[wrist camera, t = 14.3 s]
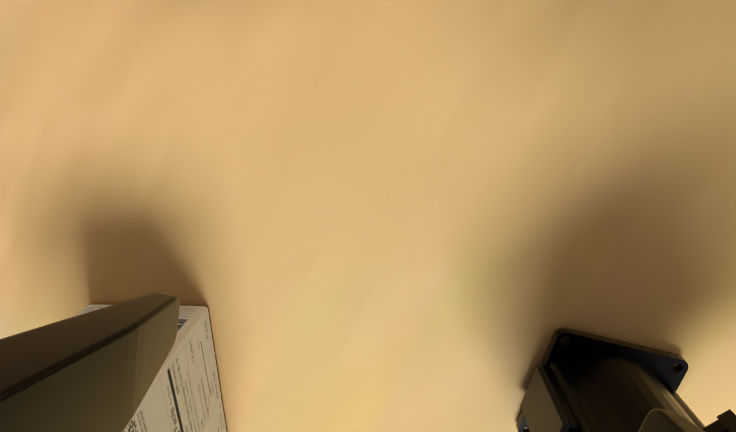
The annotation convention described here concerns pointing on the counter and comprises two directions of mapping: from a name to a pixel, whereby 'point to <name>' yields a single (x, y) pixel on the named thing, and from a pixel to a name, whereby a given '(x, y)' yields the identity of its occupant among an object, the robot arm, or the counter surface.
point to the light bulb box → (183, 381)
